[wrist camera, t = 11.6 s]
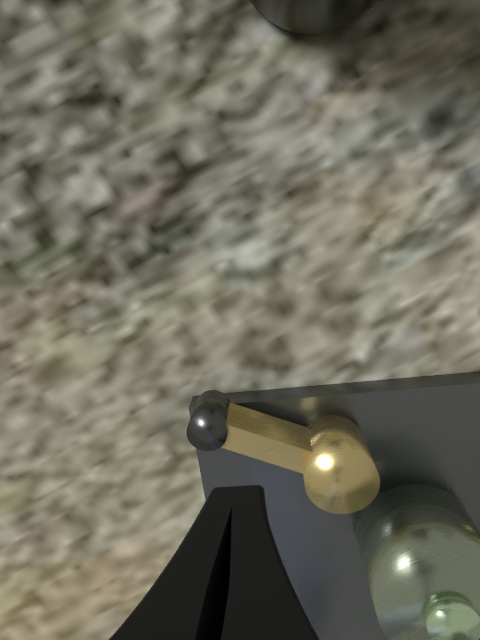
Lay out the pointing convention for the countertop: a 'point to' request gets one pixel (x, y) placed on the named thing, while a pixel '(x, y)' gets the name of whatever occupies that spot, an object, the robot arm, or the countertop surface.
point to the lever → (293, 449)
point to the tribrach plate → (399, 455)
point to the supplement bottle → (313, 14)
